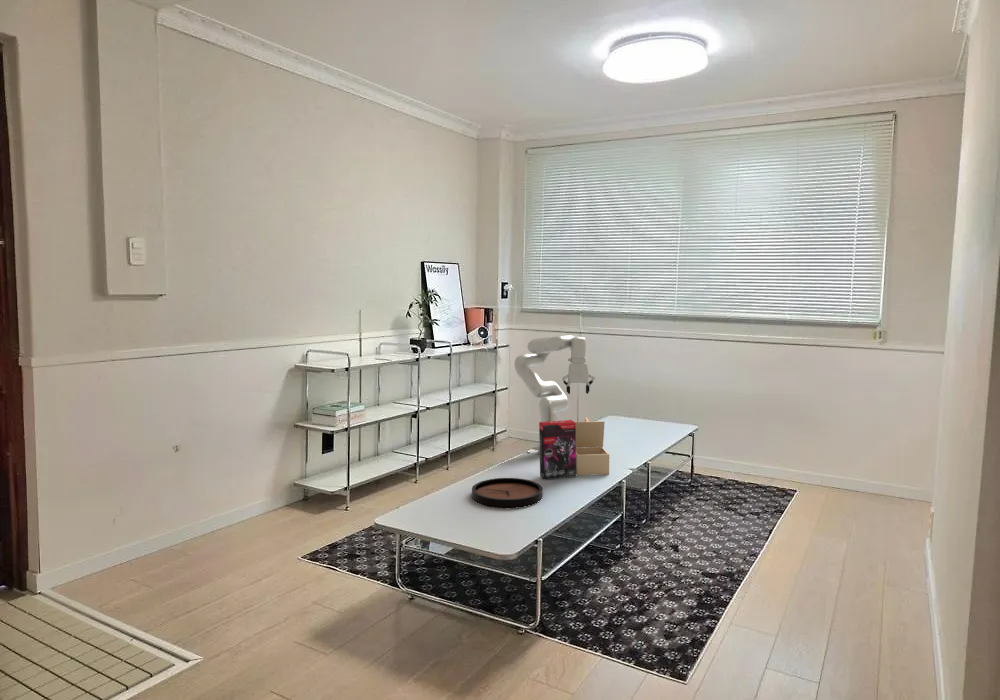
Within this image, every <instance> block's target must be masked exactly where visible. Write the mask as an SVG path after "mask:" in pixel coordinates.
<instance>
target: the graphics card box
mask: <svg viewBox="0 0 1000 700" xmlns="http://www.w3.org/2000/svg"><path fill="white" fill-rule="evenodd" d="M575 422H576V421H573V420H572V419H568V420H558V421H549V422H541V421H539V424H538V427H539V429H538V430H539V431H538V433H539V436H538V437H539V445H540V454H539V475H540V476H539V477H540V478H542V480H544V481H546V480H554V479H556V480H557V479H564V478H575V477H577V474H576V423H575Z"/></svg>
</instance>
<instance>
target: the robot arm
mask: <svg viewBox="0 0 1000 700" xmlns="http://www.w3.org/2000/svg"><path fill="white" fill-rule="evenodd" d="M586 341H587V340H586V337H583V336H577V335H573V334H571V335H569V334H568V335H557V336H546V337H544V336H543V337H537V338H532V339H531V340H529V342H528V343H527V346H526V347H527V350H528V351H529V353H522V354H519V355H518V356H516V358H515V359H514V369H515V371H516V374H517V375H518V377H519V378H520V379H521V380H522V381H523V383H525V385H526V387H527V388H528V390H529V391H530V393H531V394H532V395H533V397H534V398H535V399H538V400H539V402H538V409H539V416H540V417H539V418H540V422H549V421H559V420H558V418H557V415H556V413H560V412H561V413H562V412H565V411H567V410H568V408H569V407H570V403H569V398H568V397H567V395H566V393H567V394H568V395H570V394H571V386H570V385H571V384H586V385H585V393H586V394H588V395H589V392H590V386H591V385H592V384H593V383H594V381H595V379H596V377H594V376H593V375H590V374H589V366H588V362H586V359H587V358H586V357H587V355H586V351H587V349H586V348H587V347H586V346H587V345H586V344H587V342H586ZM569 350H570V358H568V359H567V361H568V362H569V364H568V373H567V374H565V375H564V376H562V377H561V381H562V382H563V384H564V385H565V386H566V393H565V392H564V391H563V390H562V388H561V387H560V386H559V385H558V383H557V382H555V381H554V380H543V379H541V378H540V376H539V375H538V373H536V372H535V371H534V370H532V369H535V368H536V369H537V368H541V367H542V366H543V365H544V364H545V363H546V360H548V358H549V355H550V354H551V353H553V352H559V351H560V352H561V351H569ZM589 378H590V380H589ZM566 379H568V381H566ZM531 449H532V450H534V451H537V453H538V455H540V444H538V445H532V446H531Z"/></svg>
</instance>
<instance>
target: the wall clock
mask: <svg viewBox="0 0 1000 700" xmlns="http://www.w3.org/2000/svg"><path fill="white" fill-rule="evenodd" d="M543 492H544V489H543V487H542V485H541V484H540V483H538V482H536V481H533V480H530V479H526V478H517V477H499V478H496V477H495V478H489V479H485V480H482V481H479V482H477V483H476V484H474V485H472V488H471V498H472V500H473V501H474V502H475V503H476V502H477V503H476V504H478V503H479V504H478V505H480V504H481V505H480V506H483V505H484V507H487V508H493V507H494V509H506V508H509V509H517V508H516V507H522V508H525V507H524V506H527V507H529V506H528V505H531V506H533V505H532V504H534V505H536V504H538V503H539V502H538V501H540V500H541V499H542V500H543V498H542V497H543V496H544V493H543ZM542 500H541V501H542ZM541 501H540V502H541ZM537 502H538V503H537ZM535 503H536V504H535Z"/></svg>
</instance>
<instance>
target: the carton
mask: <svg viewBox="0 0 1000 700" xmlns="http://www.w3.org/2000/svg"><path fill="white" fill-rule="evenodd" d="M590 474H597V475H610V453H609V452H608V451H607V450H606V449H605V448H604V446H603V447H583V448H576V476H587V475H588V476H591V475H590Z"/></svg>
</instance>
